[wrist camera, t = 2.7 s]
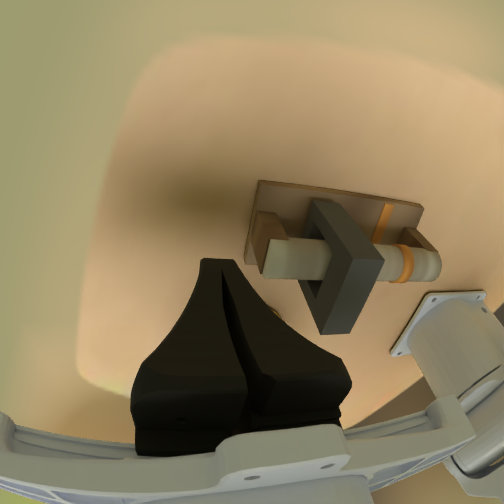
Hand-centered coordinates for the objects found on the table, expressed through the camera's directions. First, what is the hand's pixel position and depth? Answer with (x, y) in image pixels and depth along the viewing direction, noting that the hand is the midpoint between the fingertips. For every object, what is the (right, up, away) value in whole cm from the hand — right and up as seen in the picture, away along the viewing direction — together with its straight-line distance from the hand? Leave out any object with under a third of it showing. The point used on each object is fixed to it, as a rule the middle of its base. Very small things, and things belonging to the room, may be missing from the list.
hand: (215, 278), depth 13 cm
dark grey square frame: (+5, +2, +5) cm, 7 cm away
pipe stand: (+7, +2, +6) cm, 9 cm away
